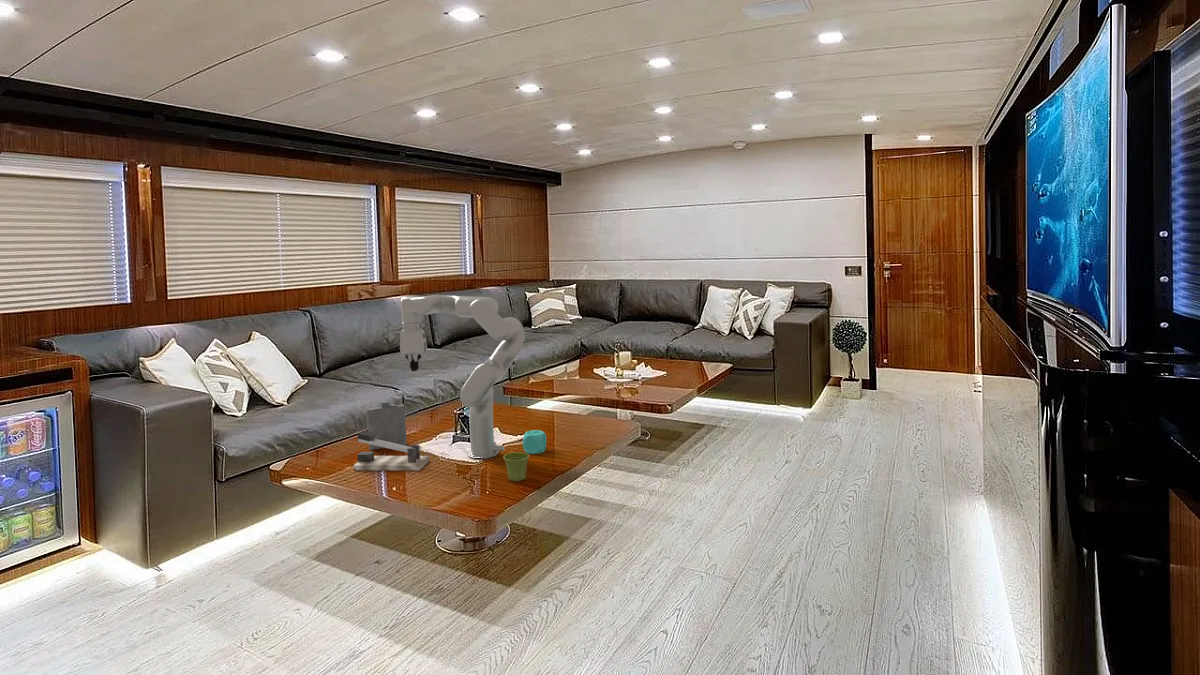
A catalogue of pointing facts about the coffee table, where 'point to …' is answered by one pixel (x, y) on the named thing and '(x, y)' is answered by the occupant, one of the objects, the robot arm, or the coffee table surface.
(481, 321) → the robot arm
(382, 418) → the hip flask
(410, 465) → the base
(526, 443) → the decorative dice
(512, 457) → the plant pot
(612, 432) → the coffee table surface
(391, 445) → the lever
